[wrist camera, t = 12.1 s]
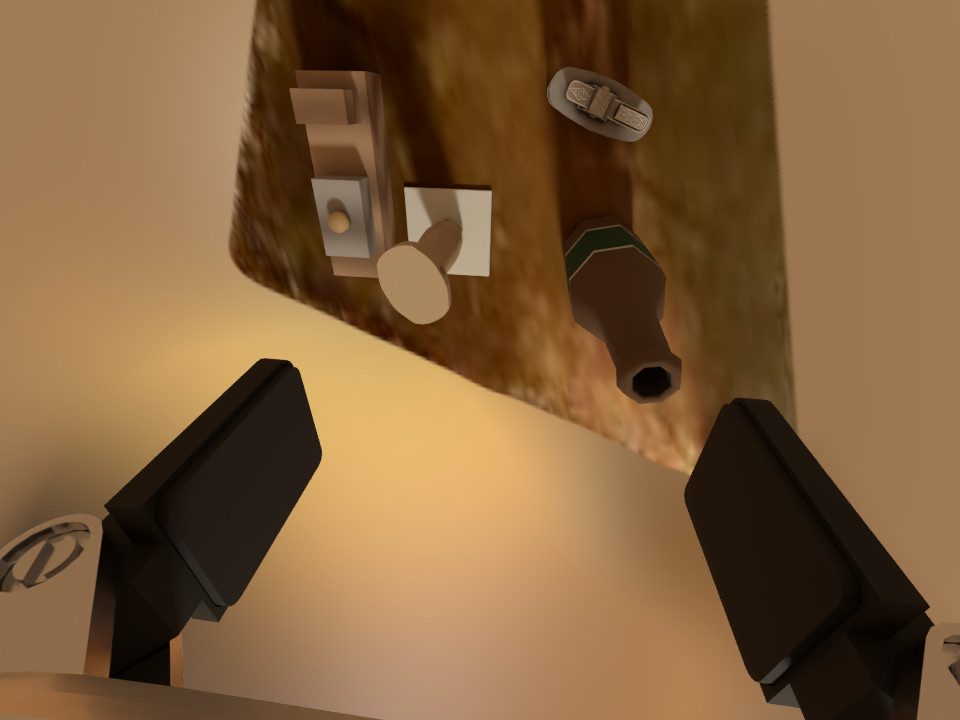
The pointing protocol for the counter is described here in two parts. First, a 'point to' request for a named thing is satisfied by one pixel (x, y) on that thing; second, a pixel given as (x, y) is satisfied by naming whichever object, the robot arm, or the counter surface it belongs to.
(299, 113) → the body
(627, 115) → the lighter
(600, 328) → the brown glass bottle
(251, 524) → the robot arm
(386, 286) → the handle
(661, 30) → the counter surface
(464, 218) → the felt pad
